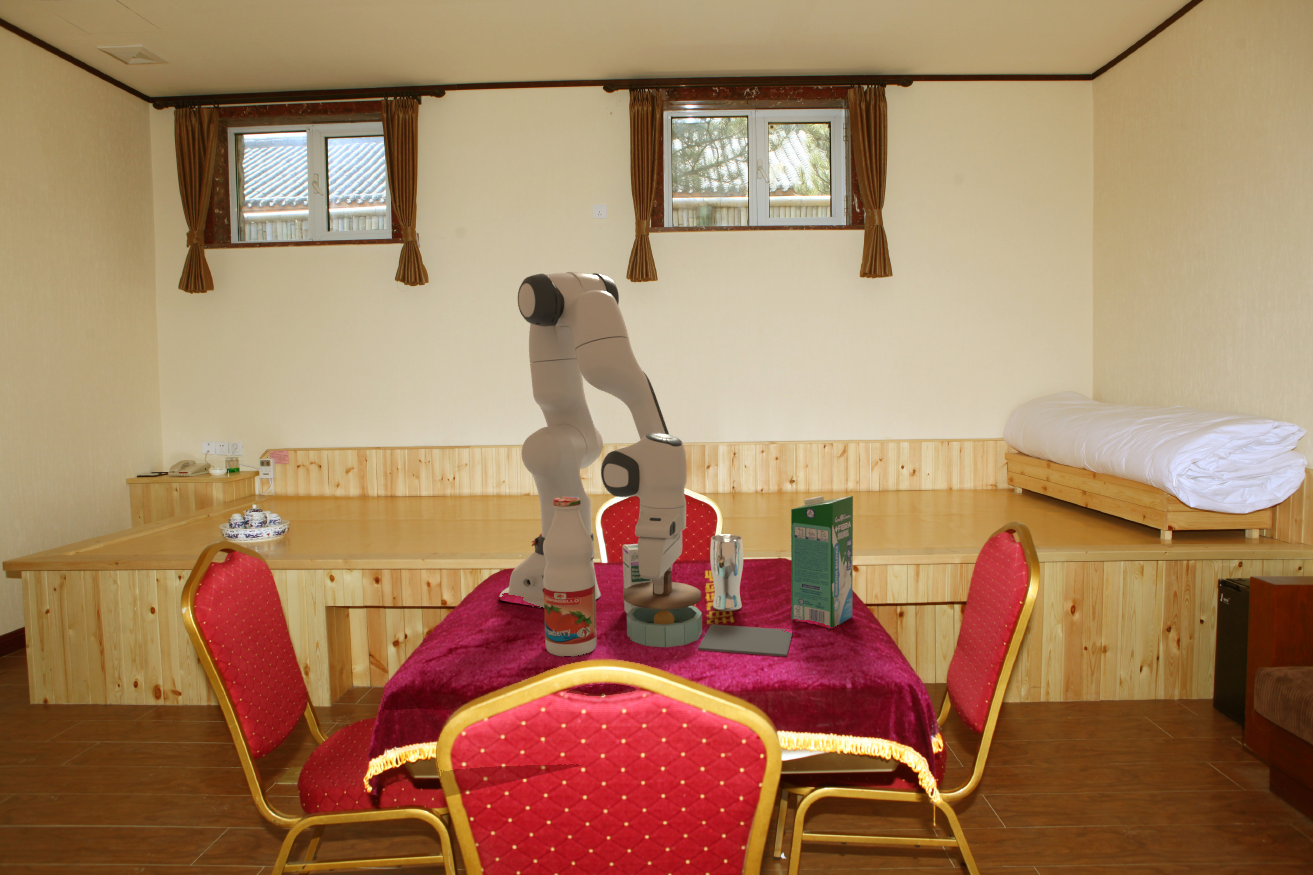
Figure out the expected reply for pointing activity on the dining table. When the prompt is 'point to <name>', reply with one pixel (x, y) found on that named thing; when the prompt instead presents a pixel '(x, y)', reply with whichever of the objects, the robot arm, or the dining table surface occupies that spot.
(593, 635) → the fruit juice
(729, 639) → the mat
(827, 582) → the milk carton
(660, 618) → the tangerine
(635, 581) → the syrup box
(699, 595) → the lid
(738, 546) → the chrome tumbler
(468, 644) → the dining table surface
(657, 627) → the bowl
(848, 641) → the dining table surface
